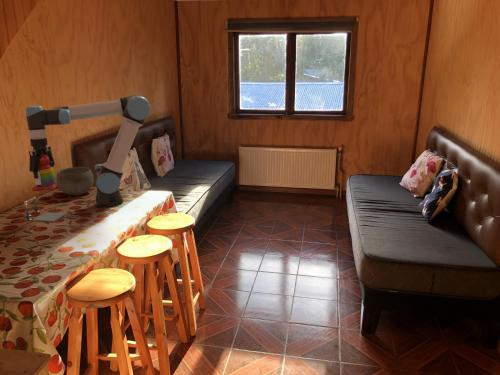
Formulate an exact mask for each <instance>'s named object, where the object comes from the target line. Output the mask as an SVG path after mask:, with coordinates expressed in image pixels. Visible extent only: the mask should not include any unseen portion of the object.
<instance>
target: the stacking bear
mask: <svg viewBox="0 0 500 375" xmlns="http://www.w3.org/2000/svg"><path fill="white" fill-rule="evenodd" d="M36 157H37V156H36ZM49 161H50V160H49V157H48V156H47V155H42V157H41V159H40V163H39V169H38V172H40V178H41V185H35V186H34V187H32V188H31V191H32V192H45V191H46V192H47V191H48V192H49V191H51V190H52V191H53V190H54V189H56V188H57V186H56V184H55V182H56V173H55V171H54V167H51V166H50V165H49Z"/></svg>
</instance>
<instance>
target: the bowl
mask: <svg viewBox="0 0 500 375" xmlns="http://www.w3.org/2000/svg"><path fill="white" fill-rule="evenodd" d="M56 184H57V186H58V187H59V189H60V191H62V193H64V194H67V195H69V196H82V195H84V194H86V193H87V192H89V191H90V190H91V189H92V187H93V184H94V174H93V172H92V170H91V169H90V168H89V167H85V166H73V167H67V168H63V169H60V170H58V171H57V174H56Z"/></svg>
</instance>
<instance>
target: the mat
mask: <svg viewBox="0 0 500 375" xmlns="http://www.w3.org/2000/svg"><path fill="white" fill-rule="evenodd" d="M67 215H68V213H67V212H48V211H46V212H45V213H43V214H41V215H39V216H37V217H35V218H32V220H31V221H32V222H43V223H45V222H46V223H54V222H56V221H59V220H61V219H62V218H63V217H65V216H67Z"/></svg>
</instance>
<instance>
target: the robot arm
mask: <svg viewBox="0 0 500 375" xmlns="http://www.w3.org/2000/svg"><path fill="white" fill-rule="evenodd" d="M150 113H151V104H150V101H149V100H148V99H147V98H146V97H144V96H141V95H137V94H133V95H128V96H124V97H118V99H116V100H109V101H100V102H91V103H85V104H73V105H68V106H65V105H64V106H55V107H54V108H52V109H44V108H43V106H42V105H29V106H27V107H25V114H26V115H25V116H26V117H25V118H26V122H27V128H28V129H27V130H28V135H29V138H30V146H31V147H32V148H33V149H32V150H29V151H28V155H29V172H31V173H33V178H34V183H35V186H37V185H41V178H40V172H38V169H39V163H40V159H41V157H42V155H47V156H48V157H49V160H50V161H49V165H50V166H51V167H52V168H54V167H55V164H56V163H55V159H54V156H53V152H52V148H51V146H48V138H47V131H46V126H55V125H57V126H58V125H70V124H71V122H72V121H75V120H77V121H78V120H83V119H84V120H86V119H92V118H101V117H109V116H116V115H119V116H121V117H122V122H121V125H120V128H119V130H118V133H117V136H116V138H115V141H114V142H113V145H112V148H111V150H110V153H109V155H108V158H107V159H106V162H104V163H98V164H95V165H94V176H95V185H96V195H95V200H94V204H95V206H96V207H100V208H111V207H116V206H119V205H120V206H121V205H122V204H123V203H124V198H123V195H122V193H121V192H120V189H119V188H120V186H121V180H122V177H123V175H124V173H125V172H124V170H123V167H124V165H125V162H126V160H127V157H128V155H129V153H130V150H131V147H133V146H132V145H133V143H134V141H135V138H136V136H137V133H138V131H139V128H140V127H143V126H144V125H145V121H146V119H147V118H148V117H149V115H150ZM36 156H37V157H36Z"/></svg>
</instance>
